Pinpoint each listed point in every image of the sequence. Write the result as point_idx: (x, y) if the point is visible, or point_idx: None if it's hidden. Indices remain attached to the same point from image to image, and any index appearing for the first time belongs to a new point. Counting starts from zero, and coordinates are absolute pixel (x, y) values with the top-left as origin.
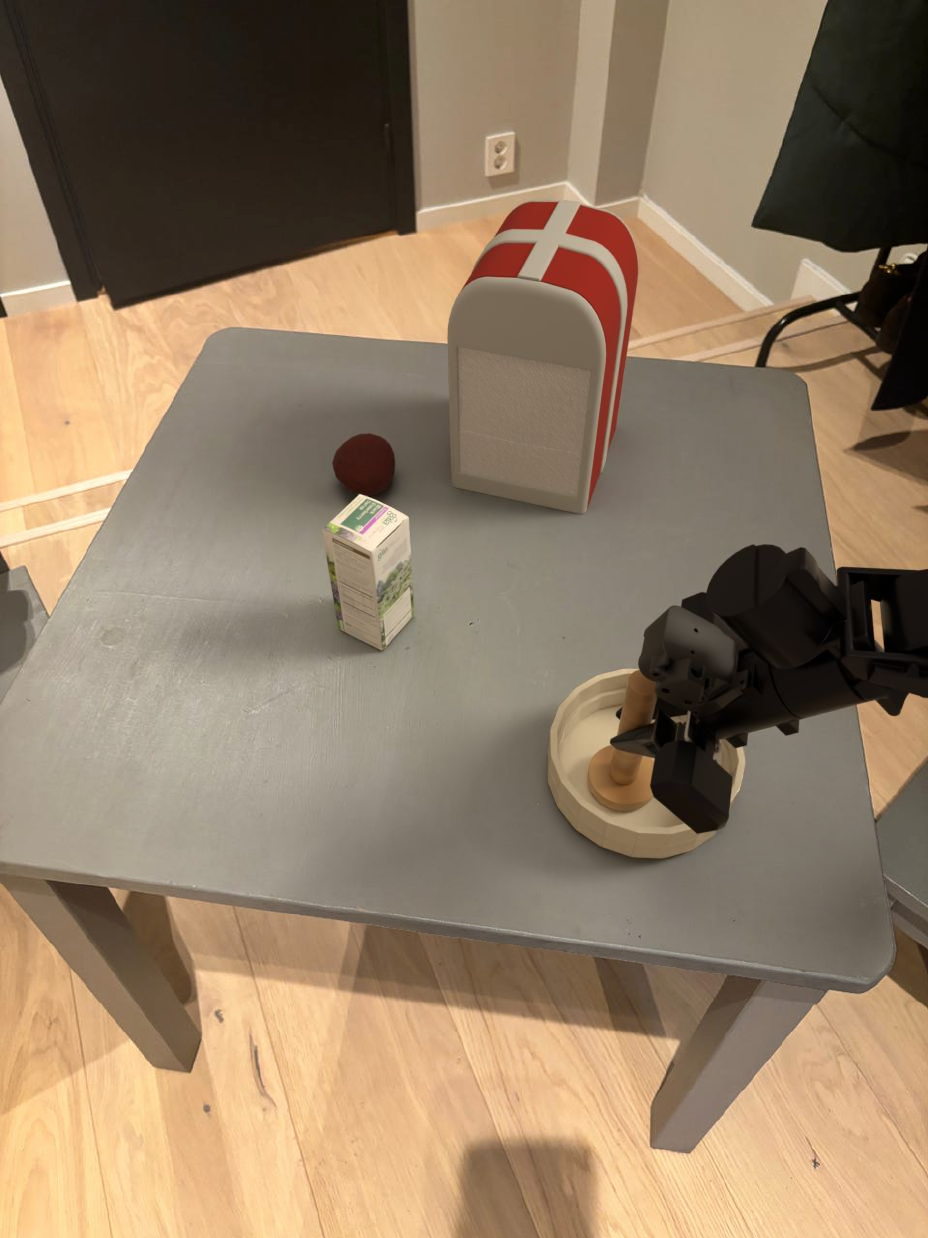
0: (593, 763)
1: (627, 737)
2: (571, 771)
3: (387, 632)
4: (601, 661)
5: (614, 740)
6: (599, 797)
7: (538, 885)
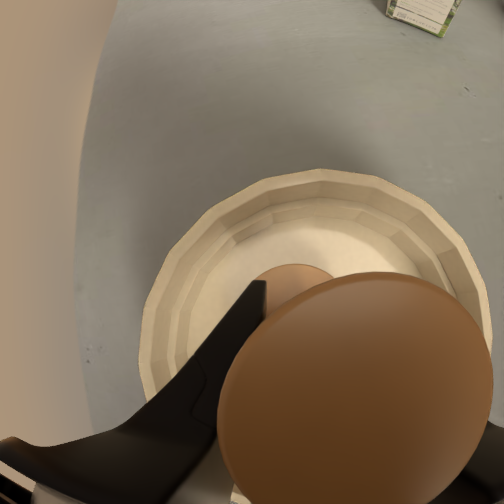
0: (303, 270)
1: (227, 328)
2: (294, 240)
3: (401, 4)
4: (488, 255)
5: (249, 290)
6: None
7: (119, 231)
